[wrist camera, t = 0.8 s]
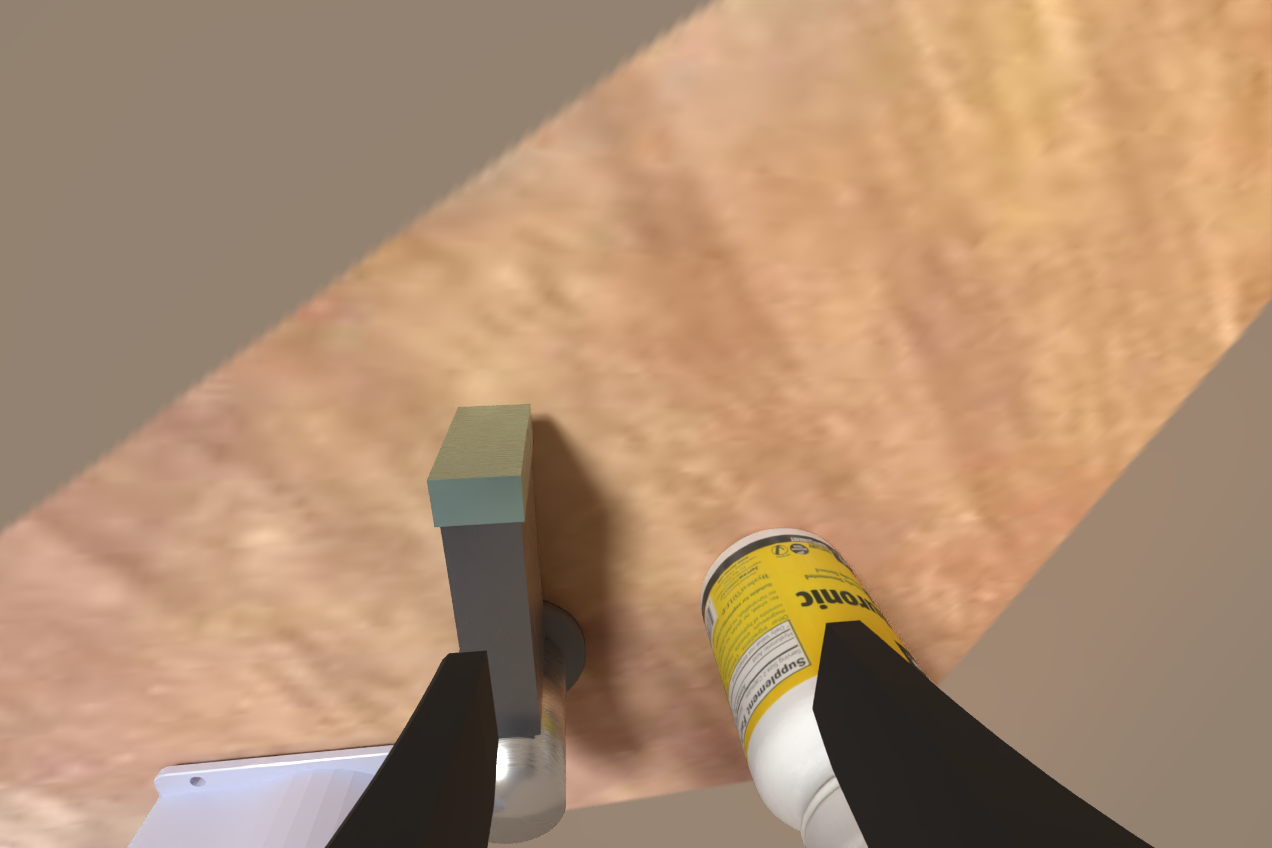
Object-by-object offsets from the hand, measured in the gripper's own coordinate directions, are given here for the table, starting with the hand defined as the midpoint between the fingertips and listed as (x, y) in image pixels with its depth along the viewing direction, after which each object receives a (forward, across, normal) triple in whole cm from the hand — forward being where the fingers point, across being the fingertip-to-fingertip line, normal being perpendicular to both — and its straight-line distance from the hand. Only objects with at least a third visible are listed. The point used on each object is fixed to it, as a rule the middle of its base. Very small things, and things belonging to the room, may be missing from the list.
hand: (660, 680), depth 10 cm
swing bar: (+8, +3, +4) cm, 10 cm away
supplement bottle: (+10, -6, +6) cm, 13 cm away
